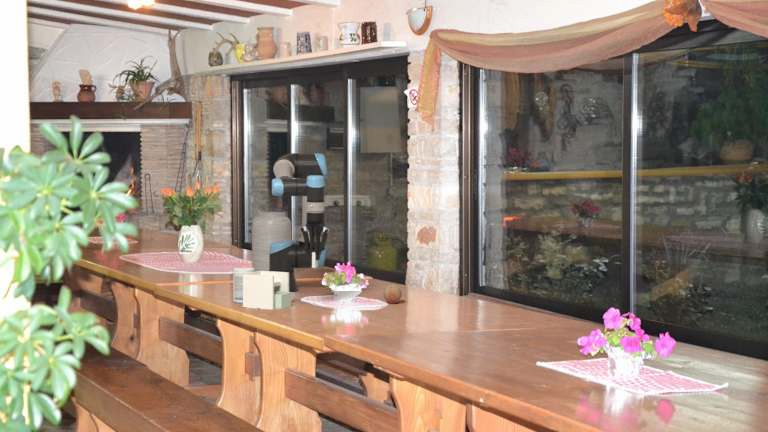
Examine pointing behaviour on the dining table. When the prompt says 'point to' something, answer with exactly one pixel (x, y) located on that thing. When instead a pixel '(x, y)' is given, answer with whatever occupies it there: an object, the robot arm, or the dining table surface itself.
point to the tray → (282, 299)
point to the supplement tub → (239, 283)
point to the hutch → (263, 288)
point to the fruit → (392, 294)
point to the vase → (268, 236)
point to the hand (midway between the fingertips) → (314, 267)
